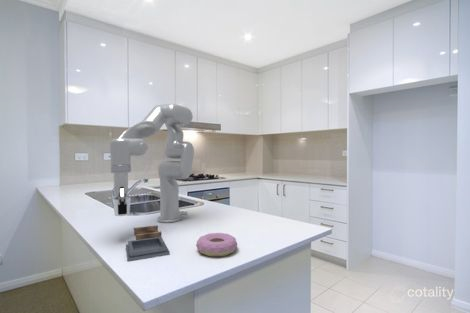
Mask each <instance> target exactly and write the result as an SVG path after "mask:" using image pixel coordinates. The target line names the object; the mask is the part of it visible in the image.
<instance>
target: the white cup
mask: <svg viewBox="0 0 470 313" xmlns="http://www.w3.org/2000/svg"><path fill="white" fill-rule="evenodd" d="M120 197H121V196H120ZM112 204H113V211H114V216H115V217H125V216H128V215H130V212H131V196H128V195H127V197H126V204H127V214H121V215H119V214H118V205H119V201H118V197H116V198H115V197H113V198H112Z"/></svg>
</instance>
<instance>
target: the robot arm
mask: <svg viewBox="0 0 470 313" xmlns="http://www.w3.org/2000/svg"><path fill="white" fill-rule="evenodd" d="M193 117H194V115H193V112H192V110H191V109H190V108H188V107H185V106H182V105H179V104H175V103H169V104H168V103H166V104H165V103H164V104H158V105H157V104H156V105H155V106H154V107H153V108H152V109H151V110H150V111H149V113H148V114H147V115H146V116H145V117H144V118H143V120H142V121H140V122H138V123H136V124H134V125H132V126H131V127H129V128H127V129H126V130H124V131H123V132H122V133H121V134H120V136H119V137H118V138H112V139H111V140H110V142H109V144H110V145H109V147H110V148H109V151H110V154H109V156H110V174H113V198H116V197H118V201H119V205H118V214H119V215H121V214H127V204H126V197H127V196H128V193H129V192H128V190H129V173H131V172H132V169H131V168H132V164H131V158H132V157H131V156H133V157H137V156H138V157H139V156H143V155H145V154H146V153H147V152H148V149H149V146H148V142H147V141H145V138H149V137H152V136H154V135H156V134H157V133H158V132H159V131H160V129H161V128H162V127H163V126H164V124H165V126H166V129H167V138H166V143H165V149H164V155H165V157H166V158H167V159H172V160H164V161H162V162H160V163H159V165H158V167H157V172H158V177H159V186H160V187H159V188H160V189H159V191H160V192H159V195H160V196H159V200H160V201H159V202H160V203H159V205H160V206H159V207H160V208H159V209H160V210H159V211H160V212H159V216H158V217H157V219H156V220H157V222H159V223H165V224H166V223H177V222H180V221H181V220H182V216H188V211H181V210H180V208H179V204H180V203H179V201H180V200H179V194H180V193H179V192H180V191H179V190H180V189H179V183H178V181H177V180H186V179H188V178H190V176H191V172H192V168H193V163H194V157H195V149H194V146H193V143H191V142H190V141H184V135H185V134H184V131H183V130H182V128H181V127H180V125H188V124H190V123H191V122H192V121H193ZM120 196H121V197H120Z"/></svg>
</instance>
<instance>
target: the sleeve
mask: <svg viewBox="0 0 470 313" xmlns="http://www.w3.org/2000/svg"><path fill="white" fill-rule="evenodd" d="M133 234H134V235H133V236H135V240H141V239H148V238H156V237H162V231H161V230H160V231H159V225H158V224H157V225H149V226H141V227H134V228H133Z"/></svg>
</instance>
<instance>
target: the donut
mask: <svg viewBox="0 0 470 313" xmlns="http://www.w3.org/2000/svg"><path fill="white" fill-rule="evenodd" d="M195 246H196V249H197V250H198V251H199V253H200V254H202V255H205V256H208V257H225V256H229V255H231V254H232V253H234V252H235V251H236V250H237V249H238V248H237V247H238V242H237V239H236V237H235V236H233V235H231V234H229V233H223V232H211V233H207V234H205V235H202V236H200V237H199V238H198V239H197V241H196V245H195Z"/></svg>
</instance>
